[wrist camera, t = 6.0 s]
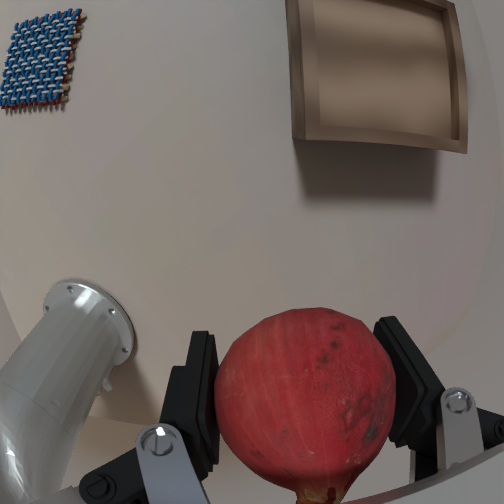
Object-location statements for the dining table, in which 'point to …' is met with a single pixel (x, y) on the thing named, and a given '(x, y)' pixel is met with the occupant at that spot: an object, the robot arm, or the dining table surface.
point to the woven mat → (40, 60)
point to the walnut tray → (378, 72)
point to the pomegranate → (306, 401)
